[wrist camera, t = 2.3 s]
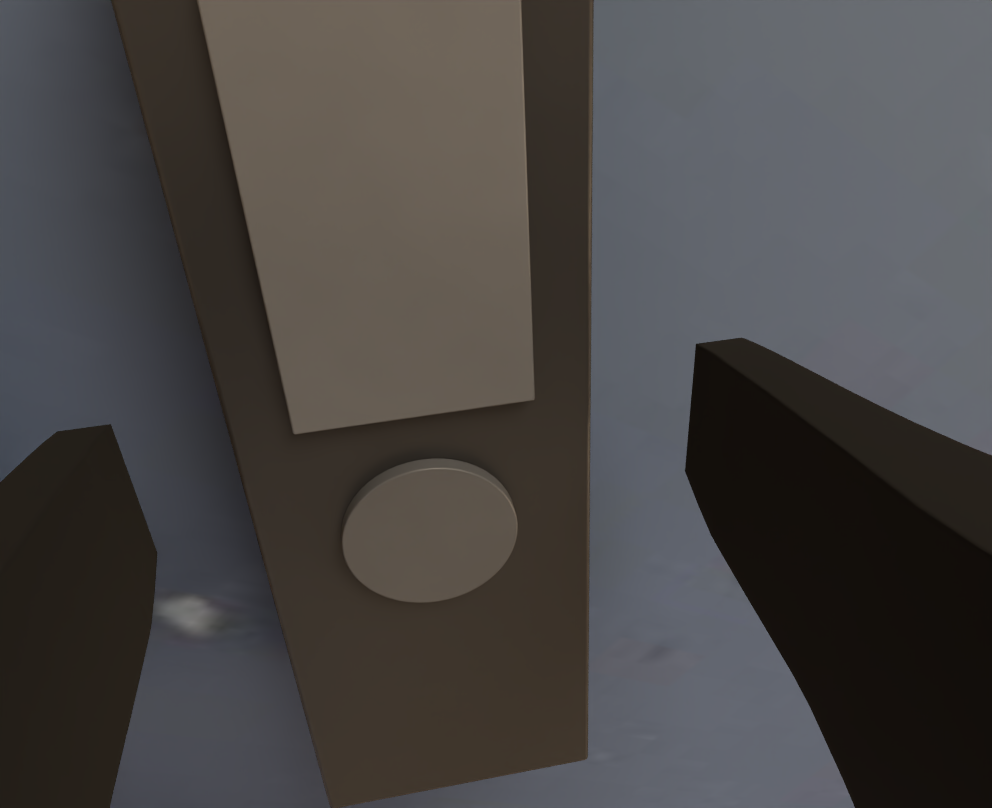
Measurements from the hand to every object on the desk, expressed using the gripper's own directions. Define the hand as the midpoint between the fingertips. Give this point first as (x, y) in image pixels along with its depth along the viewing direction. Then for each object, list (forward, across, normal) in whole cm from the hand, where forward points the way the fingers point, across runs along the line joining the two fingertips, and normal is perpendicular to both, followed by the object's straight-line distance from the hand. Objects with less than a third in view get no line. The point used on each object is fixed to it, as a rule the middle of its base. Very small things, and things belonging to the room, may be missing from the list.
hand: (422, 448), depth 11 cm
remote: (+4, 0, 0) cm, 4 cm away
